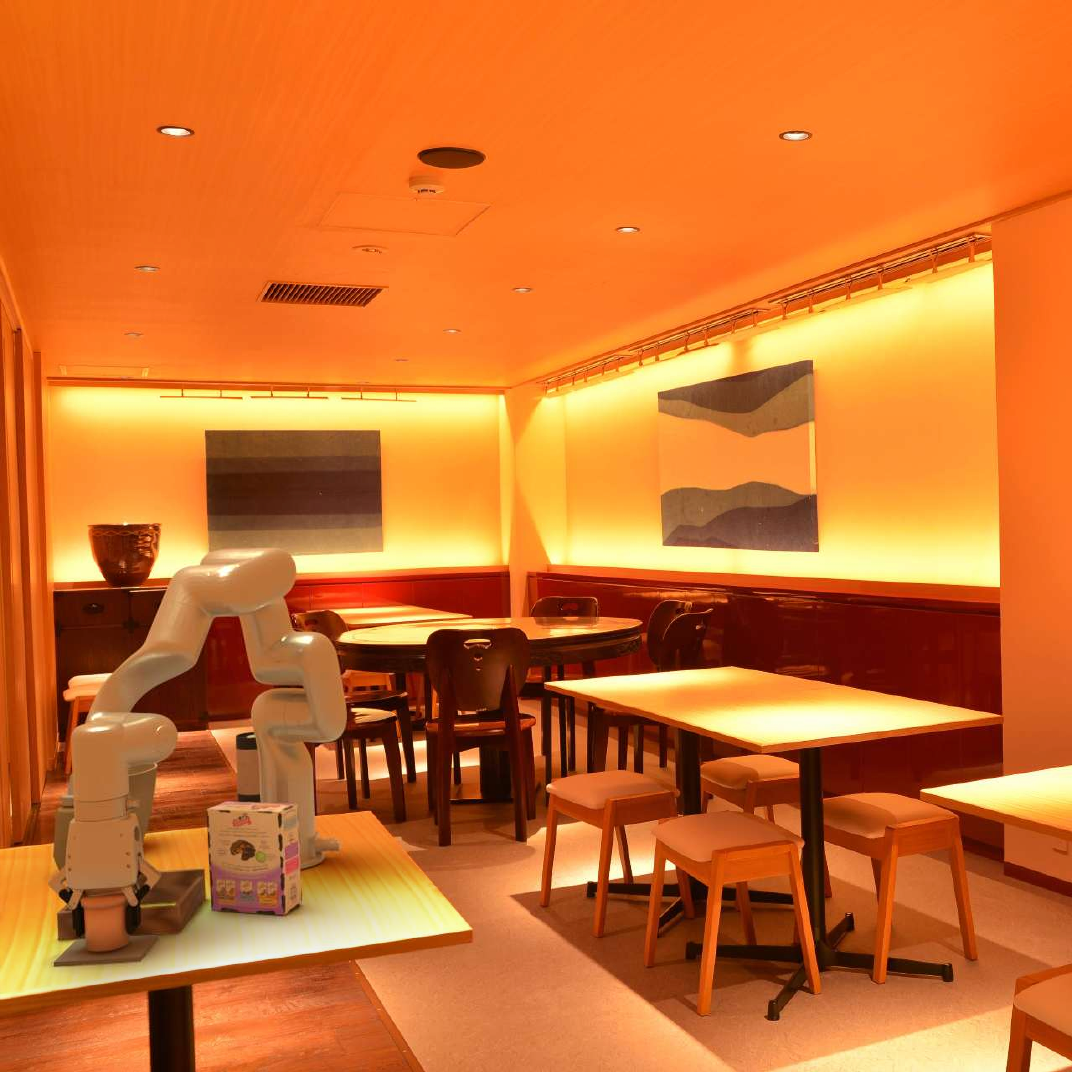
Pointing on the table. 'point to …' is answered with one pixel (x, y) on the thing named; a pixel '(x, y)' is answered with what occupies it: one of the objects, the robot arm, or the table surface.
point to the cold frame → (157, 919)
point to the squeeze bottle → (63, 826)
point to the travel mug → (247, 768)
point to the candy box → (254, 857)
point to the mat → (107, 952)
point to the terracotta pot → (105, 919)
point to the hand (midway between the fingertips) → (107, 931)
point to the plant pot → (142, 792)
